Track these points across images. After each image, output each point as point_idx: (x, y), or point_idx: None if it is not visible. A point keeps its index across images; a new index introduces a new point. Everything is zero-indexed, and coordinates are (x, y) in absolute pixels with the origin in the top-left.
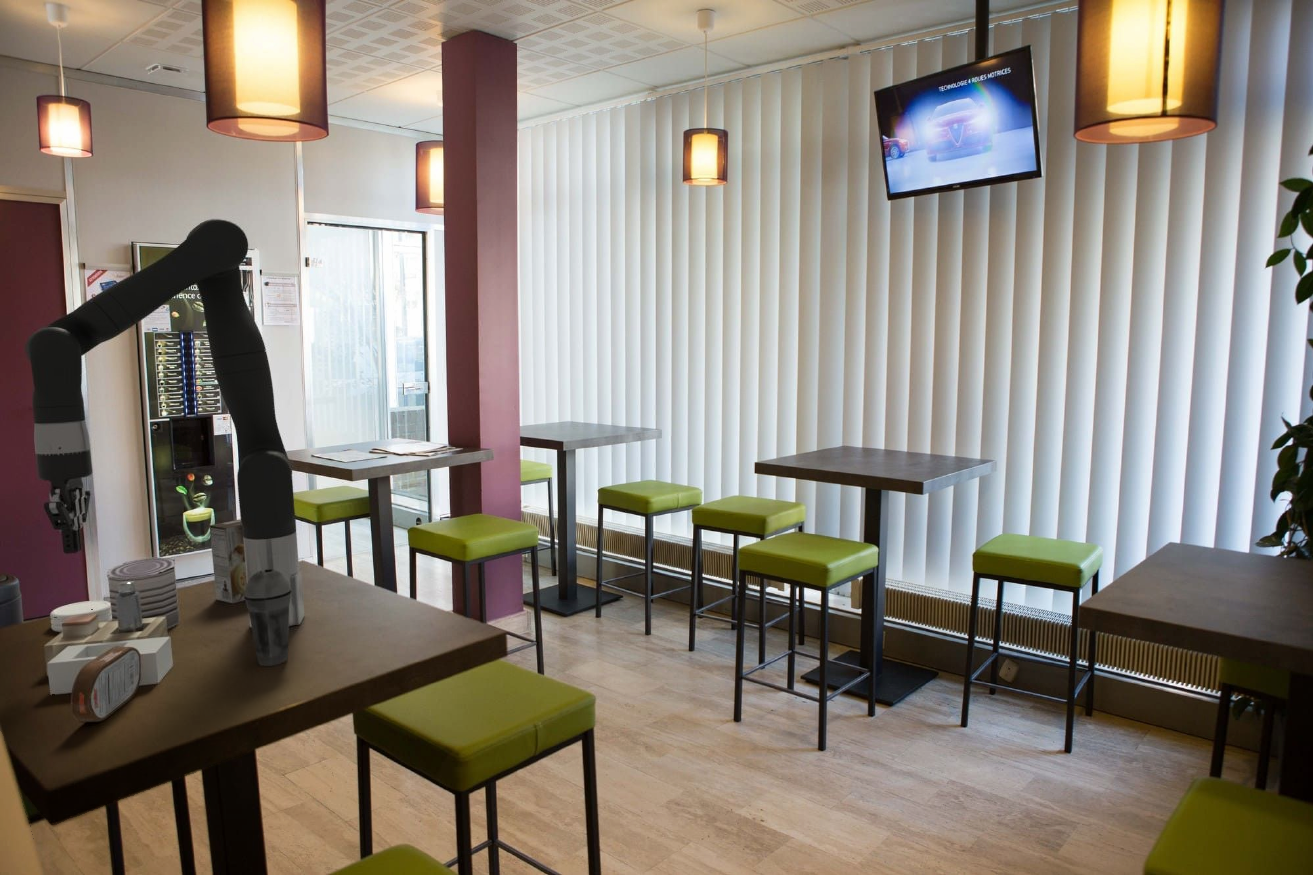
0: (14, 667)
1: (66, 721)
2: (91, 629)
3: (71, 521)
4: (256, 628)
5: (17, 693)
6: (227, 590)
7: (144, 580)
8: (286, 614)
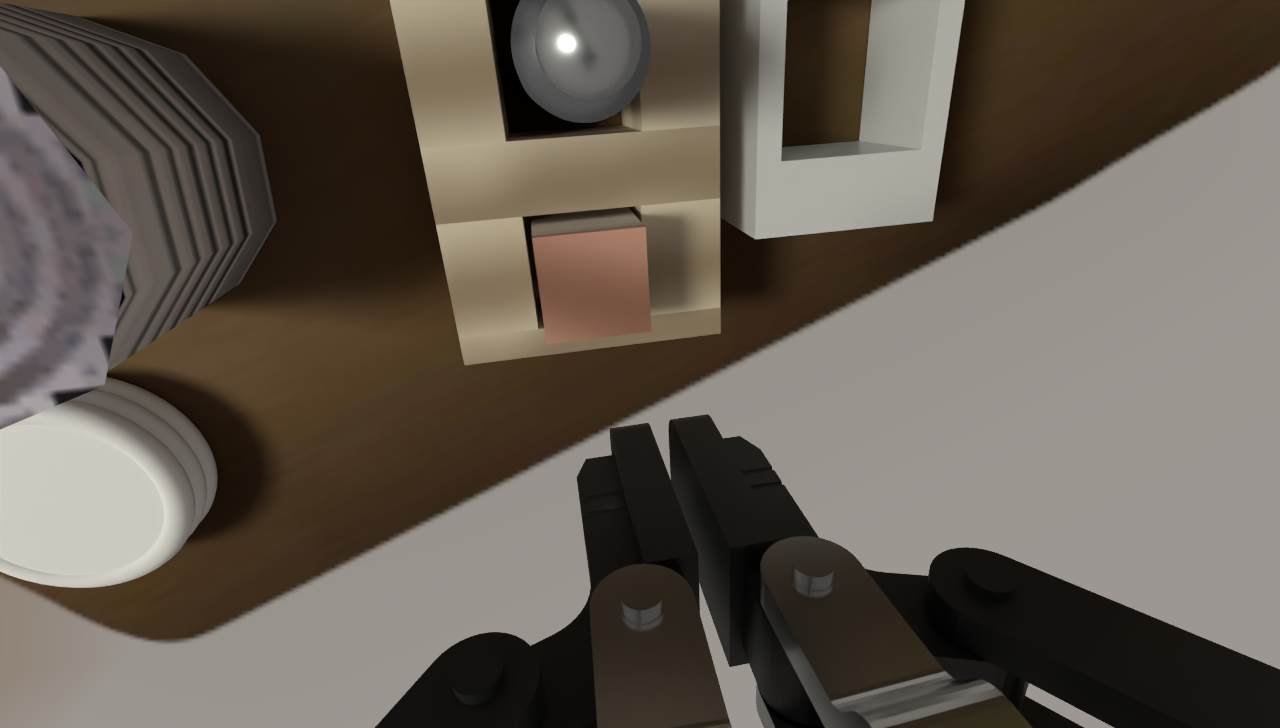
0: (586, 433)
1: (1110, 46)
2: (617, 219)
3: (1024, 631)
4: None
5: (819, 307)
6: None
7: (72, 132)
8: None
